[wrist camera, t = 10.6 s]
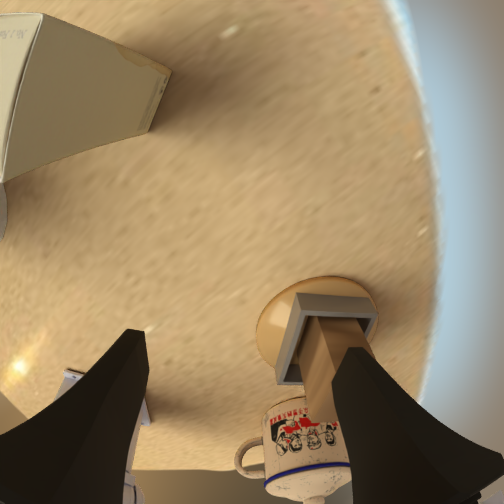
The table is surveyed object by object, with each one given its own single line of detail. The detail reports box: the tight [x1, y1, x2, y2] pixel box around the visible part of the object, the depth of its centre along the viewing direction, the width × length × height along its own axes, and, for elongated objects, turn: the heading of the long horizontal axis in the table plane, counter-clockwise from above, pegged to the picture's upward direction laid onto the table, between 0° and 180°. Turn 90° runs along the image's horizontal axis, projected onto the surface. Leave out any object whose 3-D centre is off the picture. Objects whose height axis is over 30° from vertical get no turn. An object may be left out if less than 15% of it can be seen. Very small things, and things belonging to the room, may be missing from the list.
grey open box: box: [256, 276, 378, 385], centre depth 21 cm, size 10×10×3 cm
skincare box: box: [0, 12, 172, 183], centre depth 9 cm, size 6×4×12 cm
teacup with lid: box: [234, 397, 352, 504], centre depth 24 cm, size 12×9×12 cm
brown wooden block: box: [296, 315, 376, 423], centre depth 19 cm, size 3×5×7 cm, turn 172°
